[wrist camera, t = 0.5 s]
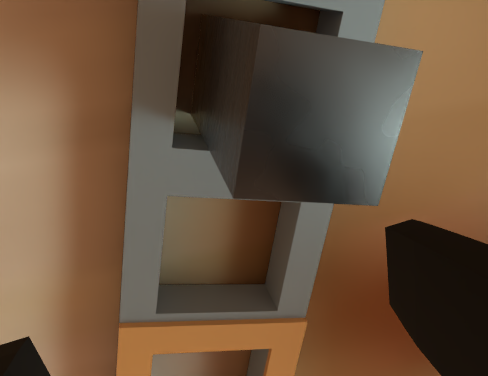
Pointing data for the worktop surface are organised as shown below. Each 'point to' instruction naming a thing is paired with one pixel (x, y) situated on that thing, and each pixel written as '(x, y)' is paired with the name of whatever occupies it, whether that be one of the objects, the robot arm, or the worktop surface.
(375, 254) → the worktop surface
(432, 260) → the robot arm
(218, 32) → the block
